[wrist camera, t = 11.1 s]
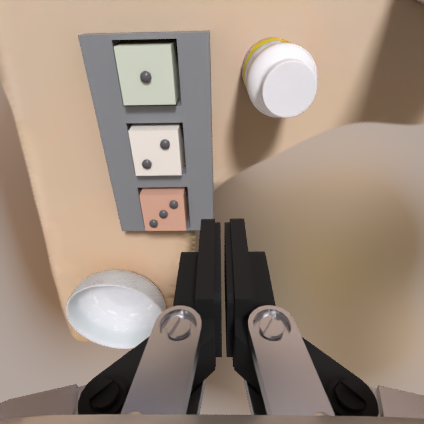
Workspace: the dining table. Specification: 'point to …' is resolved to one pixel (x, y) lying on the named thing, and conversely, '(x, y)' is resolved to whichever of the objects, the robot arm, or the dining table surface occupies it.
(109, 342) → the cereal bowl
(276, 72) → the supplement bottle
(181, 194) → the pink block
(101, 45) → the grey flat board
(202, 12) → the dining table surface
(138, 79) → the knob block
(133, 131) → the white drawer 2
